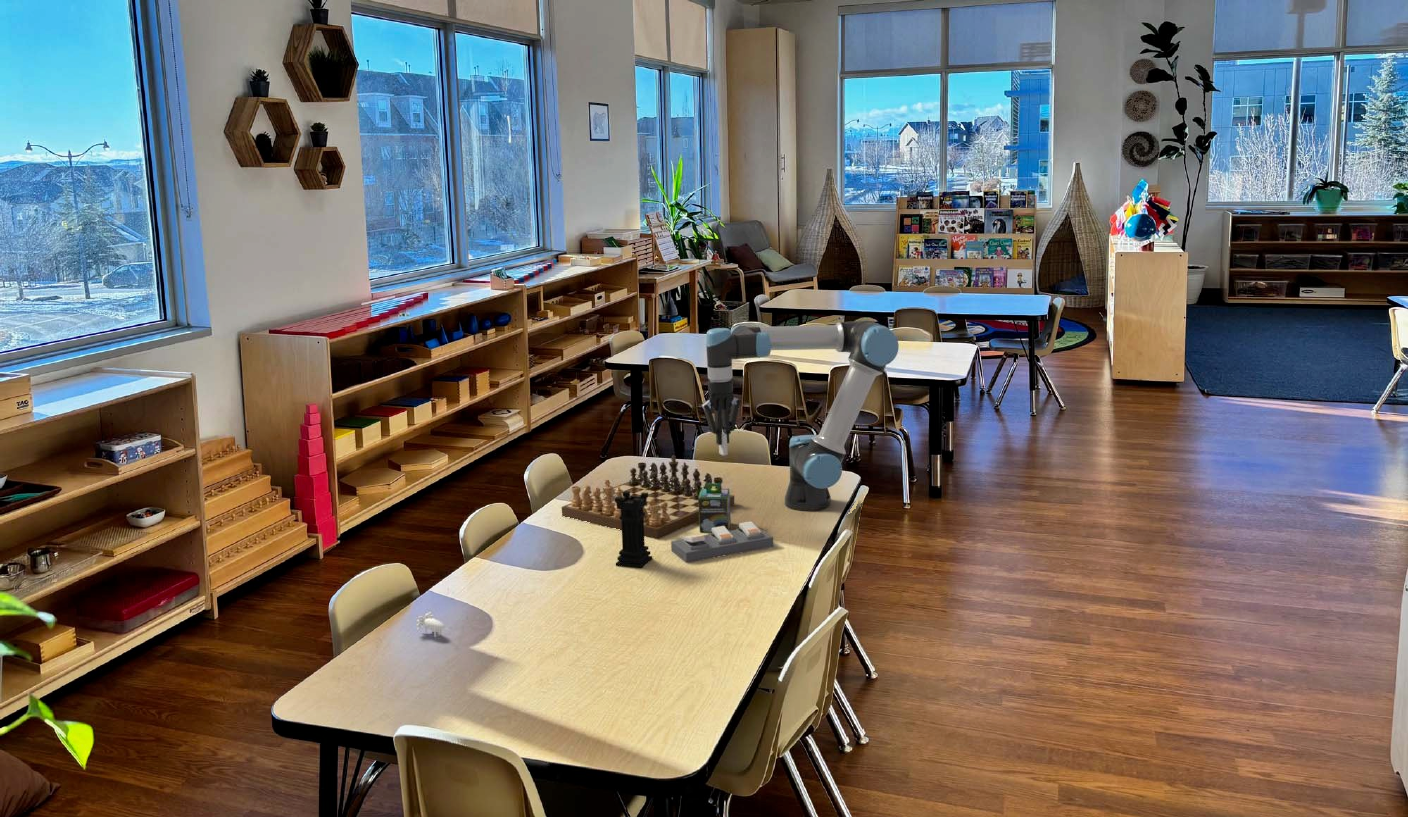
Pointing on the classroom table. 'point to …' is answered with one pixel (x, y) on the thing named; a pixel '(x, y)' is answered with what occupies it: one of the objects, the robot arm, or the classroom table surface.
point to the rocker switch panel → (720, 545)
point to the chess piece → (632, 531)
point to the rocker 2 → (749, 528)
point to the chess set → (665, 500)
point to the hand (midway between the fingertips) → (723, 454)
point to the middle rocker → (722, 533)
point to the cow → (430, 623)
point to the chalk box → (714, 508)
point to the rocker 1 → (694, 538)
